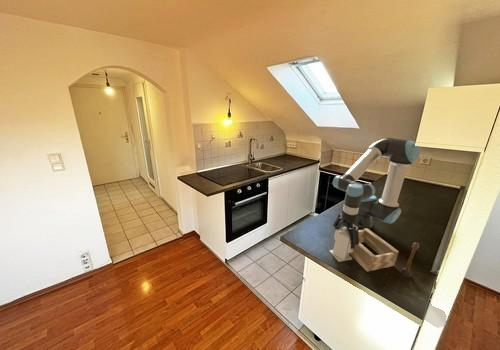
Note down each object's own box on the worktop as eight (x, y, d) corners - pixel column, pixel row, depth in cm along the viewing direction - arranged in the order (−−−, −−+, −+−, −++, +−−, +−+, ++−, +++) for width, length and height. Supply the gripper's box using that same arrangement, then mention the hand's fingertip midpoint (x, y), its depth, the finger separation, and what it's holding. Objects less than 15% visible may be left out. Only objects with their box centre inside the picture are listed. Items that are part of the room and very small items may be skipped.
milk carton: (332, 253, 121) (338, 226, 114) (337, 248, 126) (343, 221, 119) (344, 260, 116) (351, 232, 109) (349, 254, 121) (356, 227, 114)
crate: (364, 241, 134) (367, 228, 131) (393, 265, 114) (398, 251, 111) (340, 244, 130) (343, 231, 127) (367, 271, 110) (371, 256, 107)
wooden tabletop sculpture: (402, 268, 113) (413, 238, 106) (412, 274, 109) (424, 243, 102) (398, 273, 109) (409, 242, 102) (408, 279, 106) (420, 247, 99)
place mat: (342, 248, 126) (342, 248, 126) (352, 259, 118) (352, 258, 118) (329, 251, 124) (329, 250, 124) (338, 261, 116) (338, 261, 116)
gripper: (330, 202, 121) (325, 233, 129) (360, 224, 100) (351, 260, 107) (341, 201, 123) (335, 232, 130) (373, 223, 102) (363, 258, 109)
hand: (342, 245), depth 119 cm, fingers open, 11 cm apart
